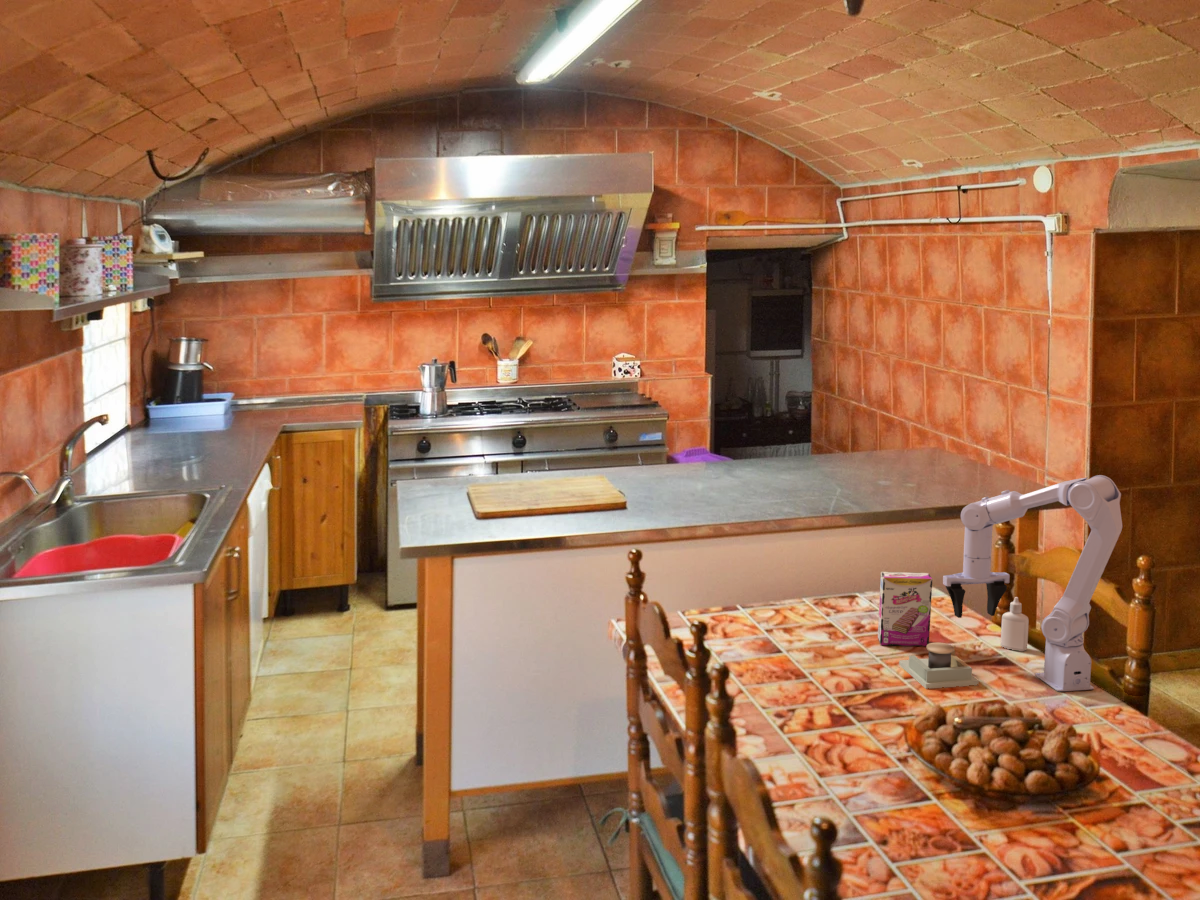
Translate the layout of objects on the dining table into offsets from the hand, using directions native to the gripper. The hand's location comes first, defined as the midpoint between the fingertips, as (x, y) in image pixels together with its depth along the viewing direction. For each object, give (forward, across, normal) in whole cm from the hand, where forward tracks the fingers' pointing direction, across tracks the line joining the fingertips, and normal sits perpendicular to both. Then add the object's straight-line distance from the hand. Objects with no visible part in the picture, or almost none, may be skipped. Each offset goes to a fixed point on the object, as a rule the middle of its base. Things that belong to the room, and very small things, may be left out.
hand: (974, 615), depth 248 cm
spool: (+9, +12, +9) cm, 17 cm away
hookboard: (+10, +12, +8) cm, 17 cm away
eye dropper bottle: (+10, -12, -4) cm, 16 cm away
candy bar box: (+10, +11, -12) cm, 19 cm away
